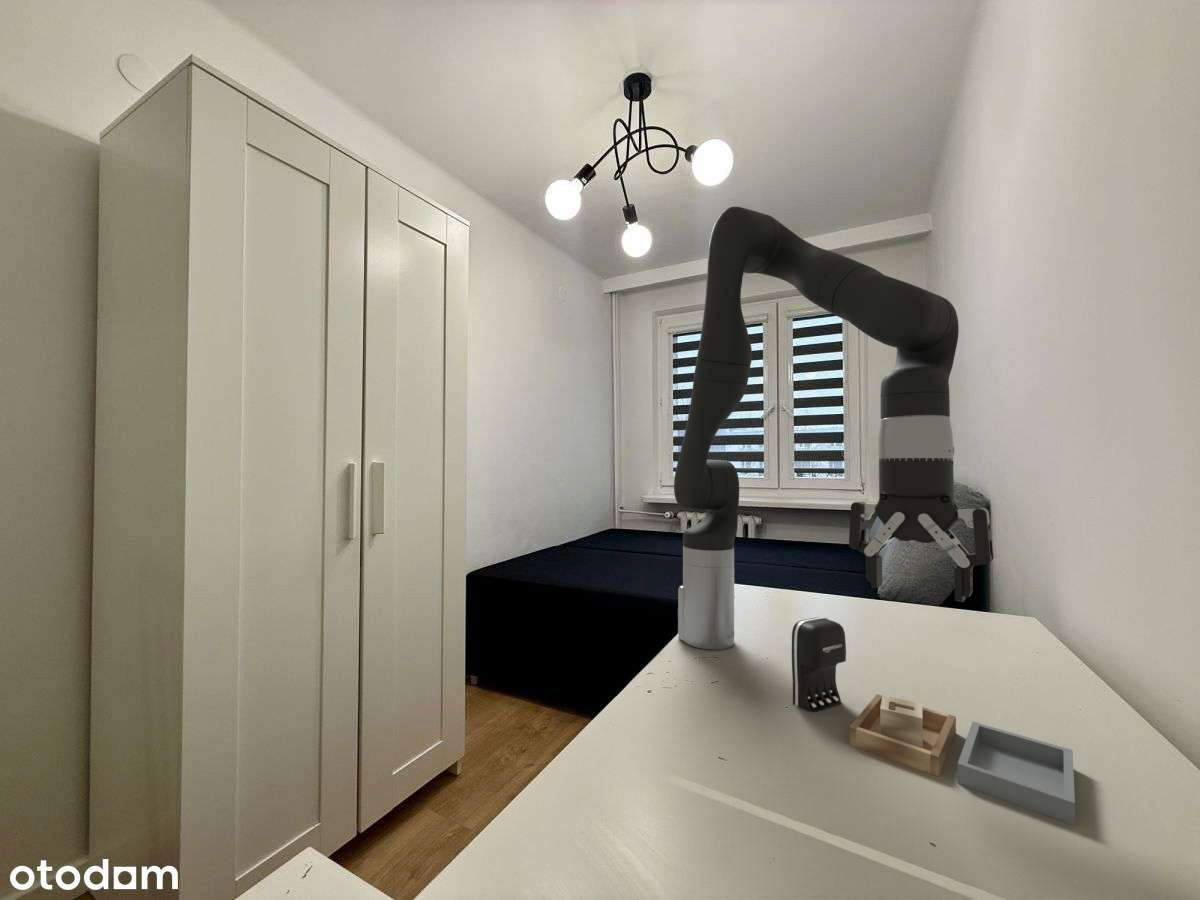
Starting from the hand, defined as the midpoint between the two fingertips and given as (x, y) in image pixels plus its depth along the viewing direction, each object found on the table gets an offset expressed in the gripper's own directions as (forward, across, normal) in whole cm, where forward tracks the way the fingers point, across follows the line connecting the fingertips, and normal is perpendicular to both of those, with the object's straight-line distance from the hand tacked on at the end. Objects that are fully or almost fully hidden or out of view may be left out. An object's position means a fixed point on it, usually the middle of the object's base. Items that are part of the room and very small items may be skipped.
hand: (916, 593), depth 59 cm
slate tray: (+17, +9, -2) cm, 19 cm away
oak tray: (+17, -1, -2) cm, 17 cm away
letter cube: (+16, -1, -3) cm, 17 cm away
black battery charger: (+17, -11, 0) cm, 21 cm away
